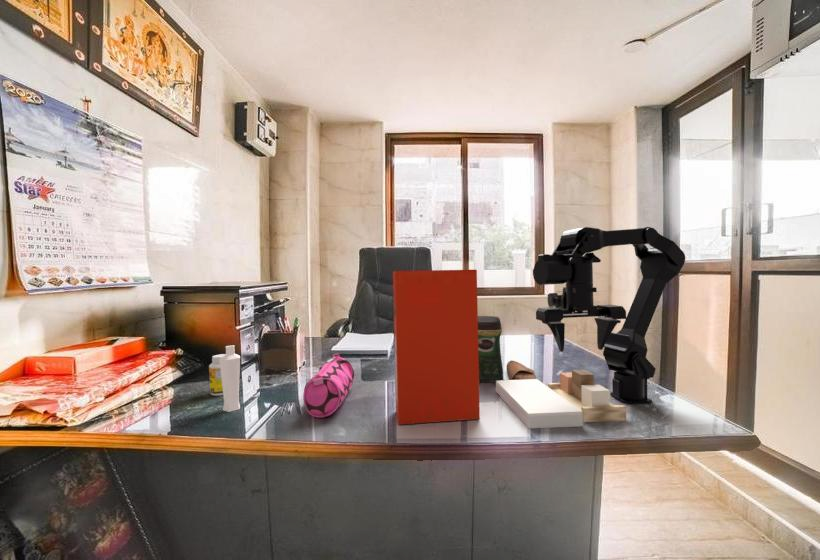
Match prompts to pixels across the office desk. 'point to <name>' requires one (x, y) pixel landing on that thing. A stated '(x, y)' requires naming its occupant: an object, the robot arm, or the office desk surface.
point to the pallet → (589, 412)
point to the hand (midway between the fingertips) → (580, 350)
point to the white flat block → (538, 404)
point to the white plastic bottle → (230, 379)
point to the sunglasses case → (519, 371)
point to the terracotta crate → (566, 382)
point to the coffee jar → (489, 349)
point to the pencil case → (328, 387)
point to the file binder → (436, 345)
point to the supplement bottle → (215, 376)
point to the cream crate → (595, 395)
